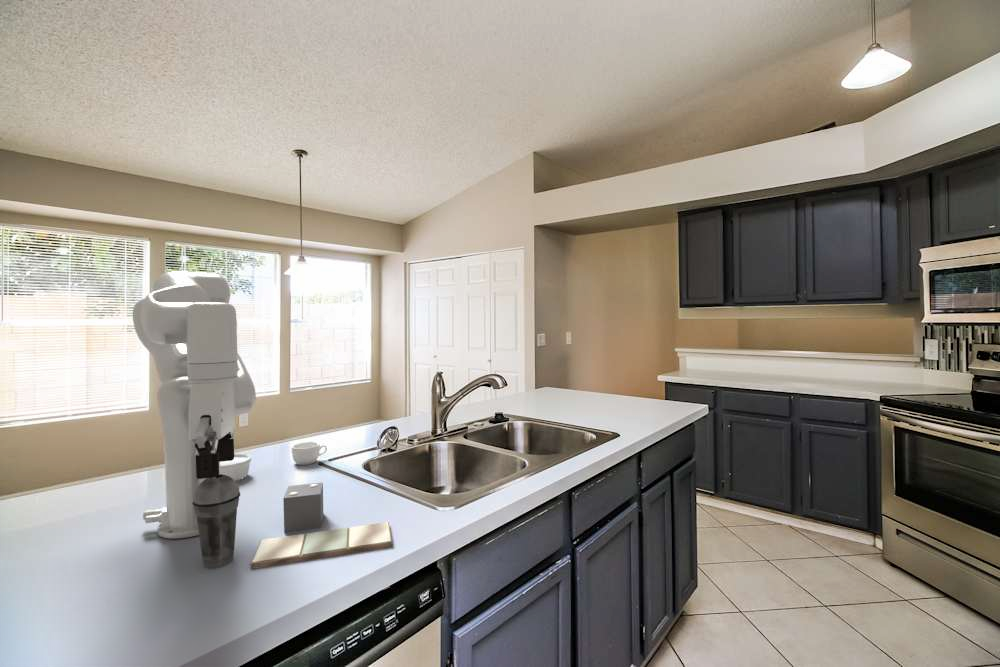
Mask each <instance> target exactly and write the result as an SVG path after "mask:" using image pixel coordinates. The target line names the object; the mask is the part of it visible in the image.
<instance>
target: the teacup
mask: <svg viewBox="0 0 1000 667" xmlns="http://www.w3.org/2000/svg"><path fill="white" fill-rule="evenodd" d="M322 448H325V450H324V451H323V452H320V451H321V449H322ZM327 451H328V448H327V446H326V445H324V444H323V445H321V444H320V442H318V441H302V442H298V443H296V444H293V445H291V454H292V455H291V456H292V460H293V462H294V463H295V464H297V465H299V466H305V465H306V466H307V465H311V464H313V463H315V462H316V461H317V460H318V458H319V457H321V456H322V455H324V454H325V453H326V452H327Z"/></svg>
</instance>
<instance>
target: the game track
mask: <svg viewBox="0 0 1000 667" xmlns="http://www.w3.org/2000/svg"><path fill="white" fill-rule="evenodd" d="M391 546H392V547H393V540H392V534H391V527H390V522H389V521H385V522H379V523H371V524H365V525H356V526H350V527H343V528H337V529H336V528H335V529H328V530H327V529H326V530H322V531H314V532H308V533H307V532H306V533H300V534H294V535H285V536H280V537H272V538H264V539H261V540H260V542H259V544H258V546H257V548H256V551H255V553H254V555H253V557H252V560H251V562H250V570H252V569H258V568H259V569H260V568H265V567H270V566H276V565H277V566H278V565H283V564H291V563H296V562H303V561H309V560H315V559H316V560H317V559H322V558H323V559H324V558H328V557H334V556H342V555H347V554H355V553H360V552H361V553H362V552H367V551H373V550H378V549H379V550H380V549H385V548H384V547H387V548H391Z"/></svg>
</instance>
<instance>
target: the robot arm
mask: <svg viewBox="0 0 1000 667" xmlns="http://www.w3.org/2000/svg"><path fill="white" fill-rule="evenodd" d="M152 291H153V292H151V293H148V294H147V295H146V296H145V297H144V298H141V299H140V300H139V301H137V302H136V303H135V304H134V306H133V309H132V322H133V326H134V331H135V333H136V336H137V337H138V340H139V341H140V342H141V344H142V345H143V346H144V348H145V349H146V350H147V351H148V352H149V353H150V354H151V355H152V357H153V361H154V364H155V368H156V370H157V375H158V378H159V380H160V382H161V384H160V386H159V388H158V390H157V392H156V402H157V407H158V412H159V416H160V420H161V421H160V422H161V425H162V433H163V434H162V435H163V445H164V446H163V451H164V472H165V474H164V475H165V477H164V478H165V503H166V504H165V505H166V506H163V507H162V508H159V509H155V508H154V509H147V510H144V512H143V515H142V520H143V521H144V522H145V524H150V523H157V522H158V523H159V524H158V526H157V535H158V536H159V537H161V538H164V539H175V540H176V539H184V538H191V537H196V536H199V530H198V523H197V515H196V514H195V510H194V505H193V504H192V503H193V500H194V494H195V491H196V489H197V487H198V486H199V485H200V483H201V482H202V481H204V480H205V479H206V478H213V477H218V475H219V474H220V462H222V461H232V460H233V459H234V454H235V439H234V430H233V429H234V428H235V421H236V416H240V415H244V414H246V413H248V412H250V411H252V409H253V408H254V406H255V404H256V401H257V400H256V398H257V393H256V388H255V384H254V382H253V380H252V377H251V376H250V373H249V372H248V369H247V368H246V365H245V363H244V361H243V359H242V357H241V356H240V354H239V352H238V330H237V328H238V327H237V326H238V320H237V310H236V308H235V306H234V305H233V304H231V303H229V302H230V299H231V289H230V285H229V283H228V281H227V280H226V279H225V278H224V276H222V275H220V274H217V273H210V272H208V273H207V272H196V271H195V272H192V271H169V272H165V273H162V274H161V275H160V276H158V277H157V278H156V279H155V281H154V282H153V286H152Z"/></svg>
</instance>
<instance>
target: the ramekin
mask: <svg viewBox="0 0 1000 667" xmlns="http://www.w3.org/2000/svg"><path fill="white" fill-rule="evenodd" d="M251 461H252V457H251V455H248V454H244V453H234V459H233V460H232V461H222V462H220V474H222V475H227V476H229V477H231V478H232V479H234V480H235V481H236V480H239V479H242V478H244V477H245V478H246V477H247V476H248V475H249V471H250V466H251V465H250V464H251ZM245 478H244V479H245ZM242 480H243V479H242ZM239 481H240V480H239ZM236 482H237V481H236Z"/></svg>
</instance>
